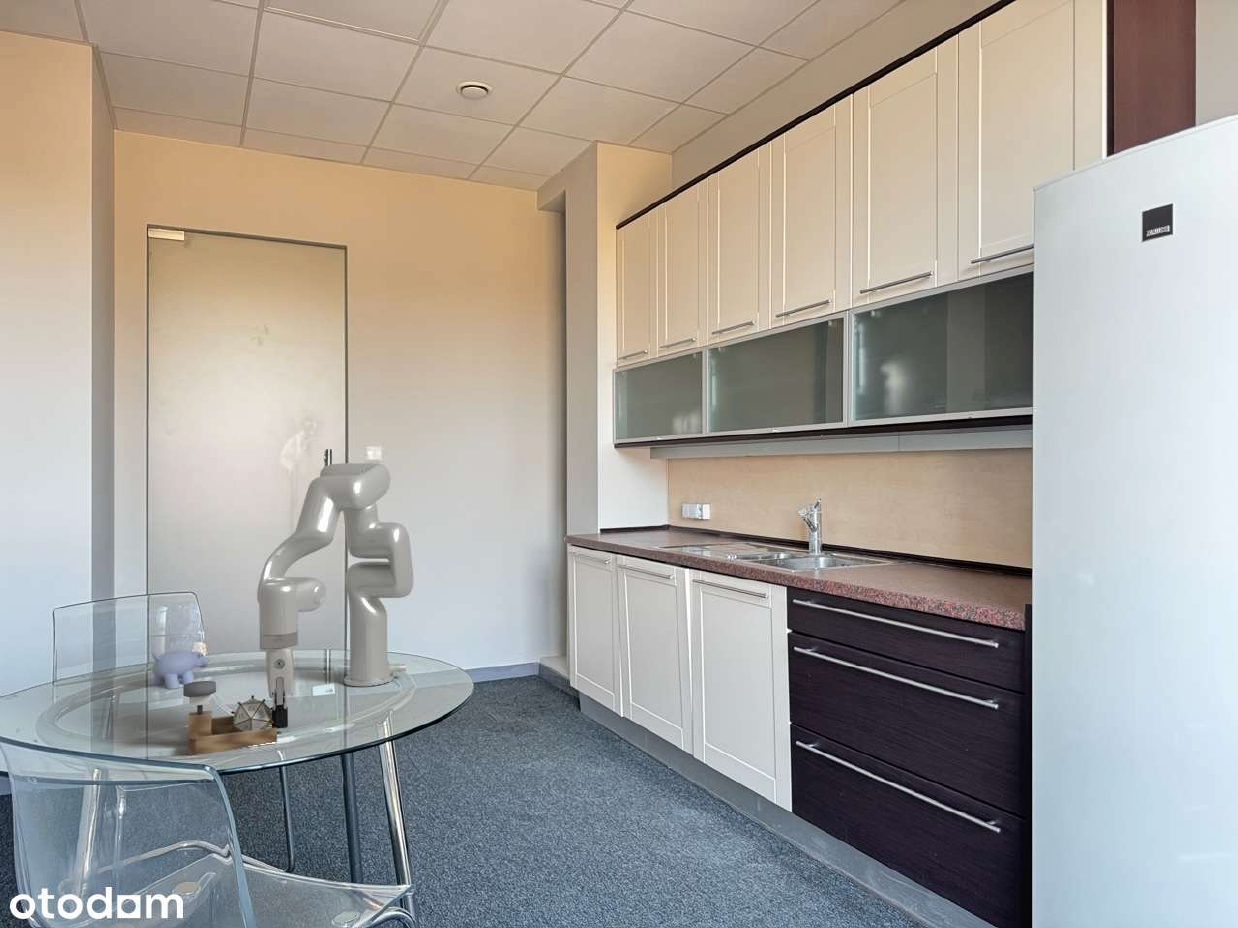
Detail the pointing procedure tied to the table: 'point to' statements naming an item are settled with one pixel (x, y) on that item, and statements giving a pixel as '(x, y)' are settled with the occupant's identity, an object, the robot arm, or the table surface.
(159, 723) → the table surface
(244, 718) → the game die
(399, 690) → the table surface
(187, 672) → the hippopotamus toy
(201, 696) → the wheel
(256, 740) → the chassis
